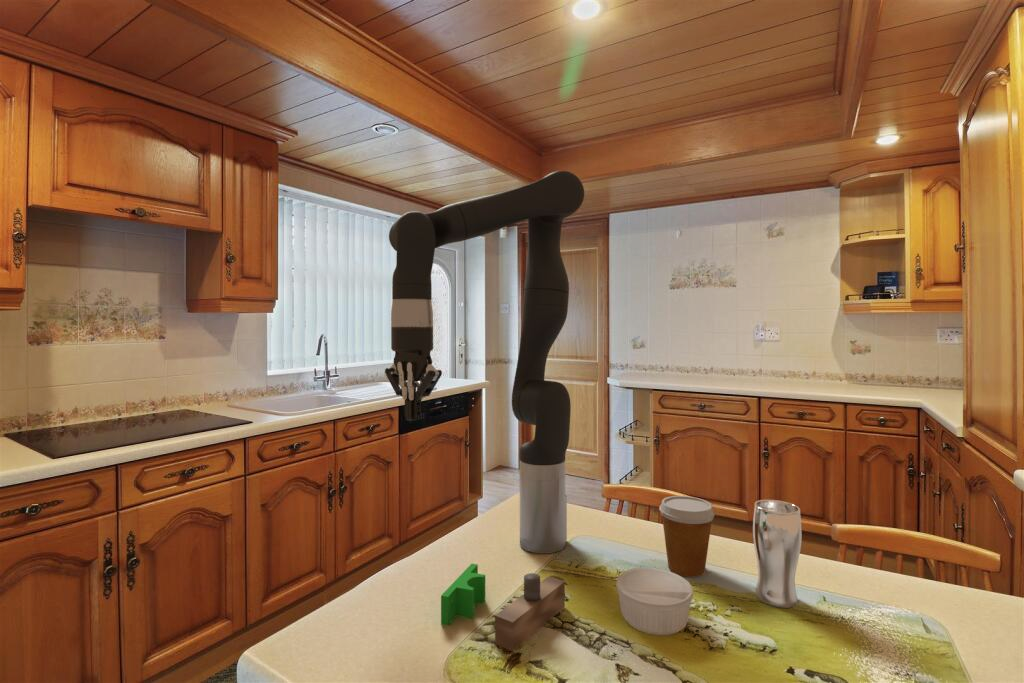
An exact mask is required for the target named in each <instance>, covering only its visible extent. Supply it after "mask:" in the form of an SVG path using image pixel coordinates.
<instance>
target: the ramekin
mask: <svg viewBox="0 0 1024 683" xmlns="http://www.w3.org/2000/svg"><path fill="white" fill-rule="evenodd" d="M615 586H616V590H617V593H618V600H619V606H620V612H621V614H622V617H623V618H624V619H625V621H626V622H627V623H628V624H629V625H630V626H631V627H632V628H633V629H635V630H638V631H640V632H642V633H644V634H649V635H655V636H669V635H674V634H677V633H678V632H680V631H681V630H682V629H684V628H685V627H686V625H687V624H688V620H689V616H690V609H691V603H692V601H693V597H694V590H693V586H692V585H691V583H689V581H688V580H686V579H685V578H684V577H683V576H682V575H678V574H676V573H674V572H672V571H670V570H665V569H661V568H655V567H635V568H630V569H628V570H625V571H624V572H621V573H620V574H619V576H618V577H617V578H616V584H615Z"/></svg>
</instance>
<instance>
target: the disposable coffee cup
mask: <svg viewBox="0 0 1024 683" xmlns="http://www.w3.org/2000/svg"><path fill="white" fill-rule="evenodd" d="M658 509H659V511H660V514H661V518H662V526H663V532H664V533H663V534H664V541H665V550H666V557H667V567H668V569H669V571H670V572H672V573H675V574H677V575H679V576H681V577H687V578H688V577H689V578H690V577H691V578H695V577H701V576H703V575H704V574H705V572H706V571H705V570H706V564H707V558H708V552H709V542H710V535H711V529H712V522H713V520H714V518H715V514H716V513H715V511H714V510H713V505H712V504H711V503H710V502H709V501H707V500H705V499H703V498H698V497H695V496H689V495H673V496H667V497H664V498H663V499H662V500H661V504H660V505H659V507H658Z"/></svg>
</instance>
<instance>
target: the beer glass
mask: <svg viewBox="0 0 1024 683" xmlns="http://www.w3.org/2000/svg"><path fill="white" fill-rule="evenodd" d="M802 534H803V533H802V519H801V508H800V507H799V506H797V505H796V504H794V503H791V502H787V501H783V500H779V499H777V500H776V499H759V500H756V501H755V502H754V511H753V520H752V537H753V545H754V546H753V547H754V551H755V558H756V564H757V574H758V576H757V583H756V588H755V592H754V593H755V596H757V597H756V598H757V600H759V599H760V600H761V601H760V600H759V601H760V602H762V603H763V604H766V605H767V606H771V607H773V608H774V607H775V608H781V609H782V608H783V609H791V608H794V607H796V606H797V605H798V603H799V602H798V599H799V598H798V595H797V589H796V575H797V574H796V573H797V568H798V565H799V558H800V556H801V555H800V554H801V548H802V537H803V536H802Z"/></svg>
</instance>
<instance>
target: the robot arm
mask: <svg viewBox="0 0 1024 683" xmlns="http://www.w3.org/2000/svg"><path fill="white" fill-rule="evenodd" d="M584 200H585V188H584V185H583V183H582V181H581V179H580V178H579V177H578V176H577V175H576V174H574V173H573V172H571V171H567V170H557V171H553V172H550V173H549V174H547V175H545V176H544V177H543V178H542V177H541V178H540V179H538V180H536V181H534V182H530V183H528V184H525V185H522V186H520V187H519V186H518V187H516V188H513V189H509V190H505V191H501V192H497V193H494V194H489V195H484V196H480V197H475V198H472V199H466V200H463V201H459V202H458V201H457V202H455V203H454V202H453V203H450V204H448V205H445V206H443V207H440V208H439V209H437V210H435V211H431V212H428V213H427V212H426V213H423V212H421V211H417V210H415V211H414V210H413V211H408V212H405V213H404V214H402V215H401V216H400V217H399V218H398V219H397V220H395V221H394V223H393V224H392V226H390V229H389V233H388V240H389V243H390V246H391V248H392V249H394V251H395V252H396V258H395V259H396V260H395V261H396V263H395V264H396V265H395V269H394V270H393V274H392V280H391V281H392V283H391V287H392V288H391V289H392V290H391V291H392V292H391V293H392V294H391V295H392V299H391V300H392V301H391V303H392V304H391V311H390V331H391V332H390V347H391V351H393V352H394V353H395V354H394V356H393V357H394V358H393V364H392V365H391V366H390V367H386V368H385V369H384V374H385V376H386V377H387V379H388V381H389V383H390V386H391V387H392V389H393V391H394V393H395V394H396V396H401V398H402V399H403V401H404V416H405V420H406V421H409V422H410V421H411V422H415V421H419V420H421V416H422V400H423V398H426V397H430V395H431V393H432V392H433V390H434V389H435V387H436V385H437V384H438V382H439V380H440V378H441V377H442V375H443V371H442V369H436V368H435V367H434V365H433V360H432V356H431V352H432V351H433V349H434V309H433V303H432V298H433V297H432V294H433V293H432V290H433V289H432V284H433V283H432V271H433V266H434V258H435V251H436V250H435V249H437V248H440V247H442V246H445V245H448V244H453V243H459V242H463V241H467V240H470V239H474V238H477V237H481V236H485V235H488V234H490V233H494V232H496V231H498V230H501V229H503V228H507V227H509V226H511V225H514V224H516V223H519V222H523V221H526V220H527V238H528V240H527V253H526V263H525V264H526V265H525V277H524V278H525V279H524V285H523V286H524V287H523V300H522V317H521V319H522V320H521V330H520V338H519V339H520V340H519V349H518V355H517V356H518V359H517V363H516V368H515V373H514V380H513V386H512V392H511V408H512V409H511V411H512V413H513V415H514V417H515V418H516V419H517V421H519V422H520V423H523V424H527V425H532V426H535V428H534V438H533V440H531V441H527V442H524V443H523V444H522V445H520V448H519V545H520V547H521V548H522V549H523V550H525V551H527V552H529V553H530V552H531V553H535V554H551V553H556V552H560V551H561V550H563V549H564V548H565V547H566V541H567V538H568V536H567V535H568V532H567V529H568V528H567V524H568V523H567V521H568V520H567V519H568V518H567V514H568V513H567V512H568V510H567V509H568V508H567V503H568V502H567V500H568V499H567V494H566V453H567V449H568V447H569V442H570V429H571V428H570V426H571V411H572V410H571V406H572V405H571V398H570V394H569V391H568V388H567V387H566V385H564V384H563V383H561V382H559V381H553V380H545V373H546V364H547V359H548V356H549V352H550V350H551V348H552V347H553V344H554V343H555V341H556V340H557V338H558V337H559V335H560V333H561V331H562V329H563V327H564V325H565V323H566V321H567V316H568V311H569V309H568V308H569V297H570V296H569V295H570V284H569V283H570V282H569V277H568V274H567V270H566V267H565V265H564V261H563V257H562V254H561V236H562V226H563V221H564V219H567V218H568V217H571V216H573V214H575V213H576V212H577V211H578V210H579V209H580V208H581V206H582V205H583V202H584Z"/></svg>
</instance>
